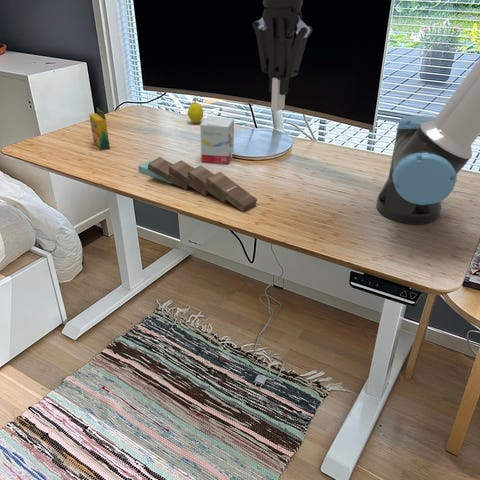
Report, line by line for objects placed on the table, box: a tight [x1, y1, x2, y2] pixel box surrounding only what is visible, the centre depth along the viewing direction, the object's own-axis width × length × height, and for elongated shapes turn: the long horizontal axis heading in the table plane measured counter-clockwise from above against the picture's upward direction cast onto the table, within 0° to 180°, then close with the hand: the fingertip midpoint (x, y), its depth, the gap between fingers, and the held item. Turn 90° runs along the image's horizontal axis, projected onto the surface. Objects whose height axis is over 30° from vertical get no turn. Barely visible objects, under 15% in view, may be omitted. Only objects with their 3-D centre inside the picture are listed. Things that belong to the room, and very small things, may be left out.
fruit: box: [187, 101, 204, 124], centre depth 174 cm, size 6×6×8 cm
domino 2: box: [148, 156, 192, 191], centre depth 132 cm, size 2×5×13 cm
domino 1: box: [138, 160, 173, 185], centre depth 137 cm, size 2×5×13 cm
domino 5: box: [206, 171, 258, 213], centre depth 123 cm, size 2×5×13 cm
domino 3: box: [168, 160, 211, 197], centre depth 129 cm, size 2×5×13 cm
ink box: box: [199, 115, 235, 165], centre depth 145 cm, size 9×9×12 cm
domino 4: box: [187, 165, 229, 204], centre depth 126 cm, size 2×5×13 cm
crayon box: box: [88, 107, 111, 151], centre depth 153 cm, size 7×3×12 cm, turn 33°
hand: (277, 108), depth 103 cm, fingers closed
